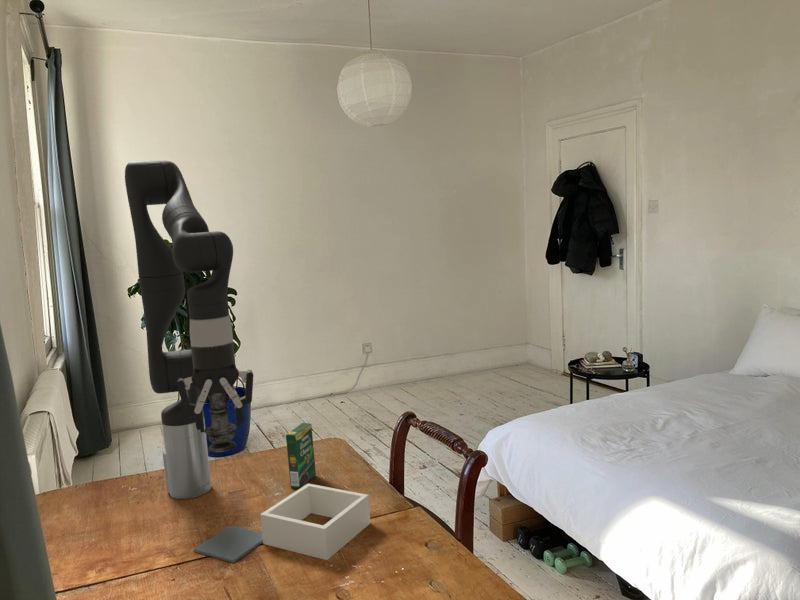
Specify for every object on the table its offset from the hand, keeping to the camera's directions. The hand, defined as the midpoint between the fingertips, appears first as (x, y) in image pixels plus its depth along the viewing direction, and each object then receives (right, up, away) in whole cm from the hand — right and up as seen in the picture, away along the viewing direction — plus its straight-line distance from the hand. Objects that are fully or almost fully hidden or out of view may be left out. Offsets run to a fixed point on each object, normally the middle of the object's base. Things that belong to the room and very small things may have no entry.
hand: (220, 428), depth 121 cm
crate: (+18, -22, +5) cm, 28 cm away
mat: (+1, -23, +3) cm, 23 cm away
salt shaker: (0, -4, 0) cm, 4 cm away
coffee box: (+11, -19, +31) cm, 38 cm away
